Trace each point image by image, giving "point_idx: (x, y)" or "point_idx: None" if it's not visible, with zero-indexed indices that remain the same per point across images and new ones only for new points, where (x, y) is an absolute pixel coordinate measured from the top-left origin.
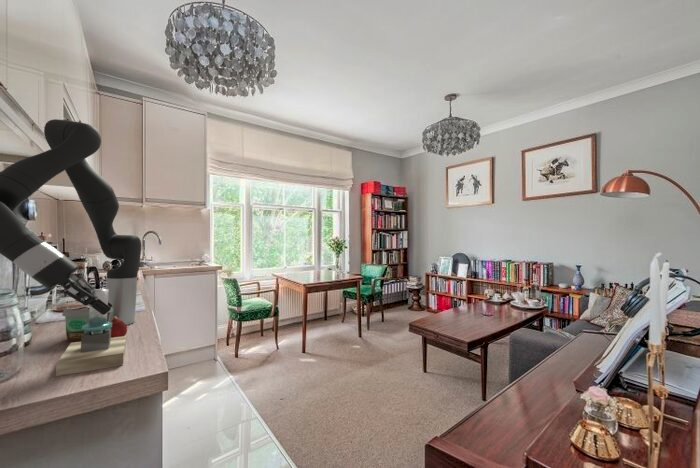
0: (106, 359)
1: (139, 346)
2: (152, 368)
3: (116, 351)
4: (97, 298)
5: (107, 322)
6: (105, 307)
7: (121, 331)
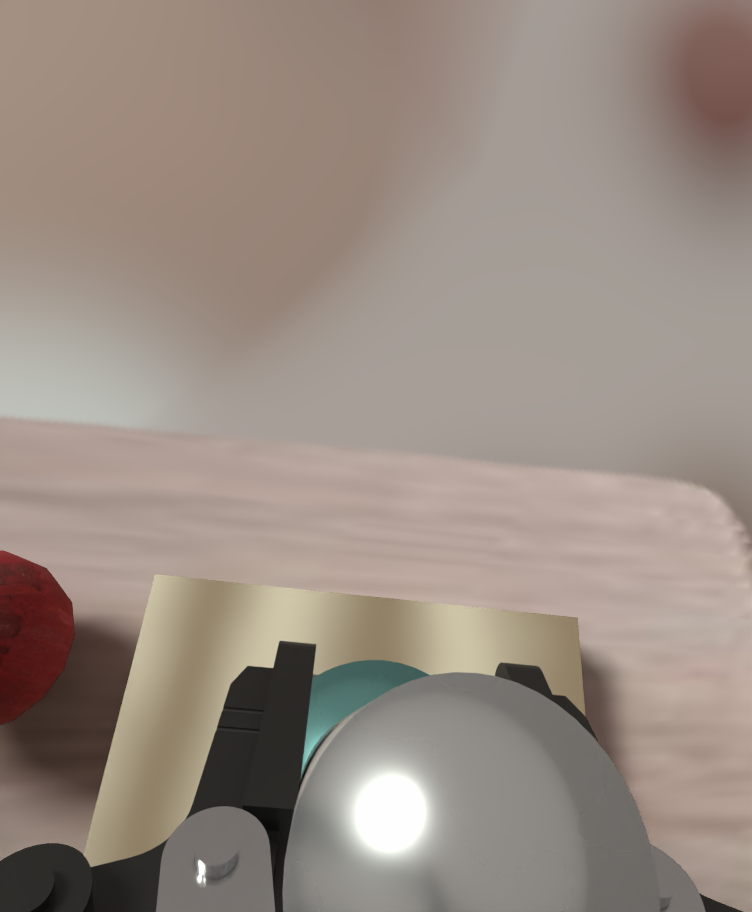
0: None
1: (233, 522)
2: (659, 515)
3: (527, 653)
4: (678, 872)
5: (338, 701)
6: (588, 727)
7: (63, 596)
